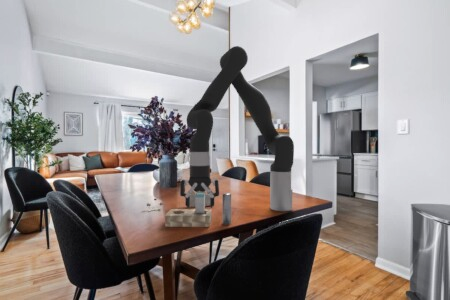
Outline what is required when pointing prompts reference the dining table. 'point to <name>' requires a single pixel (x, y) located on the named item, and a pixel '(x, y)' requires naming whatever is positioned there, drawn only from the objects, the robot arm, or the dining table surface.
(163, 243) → the dining table surface
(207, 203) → the grey spiky piece
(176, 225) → the socket block
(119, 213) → the dining table surface
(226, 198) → the round bit
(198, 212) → the square bit
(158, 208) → the diorama
